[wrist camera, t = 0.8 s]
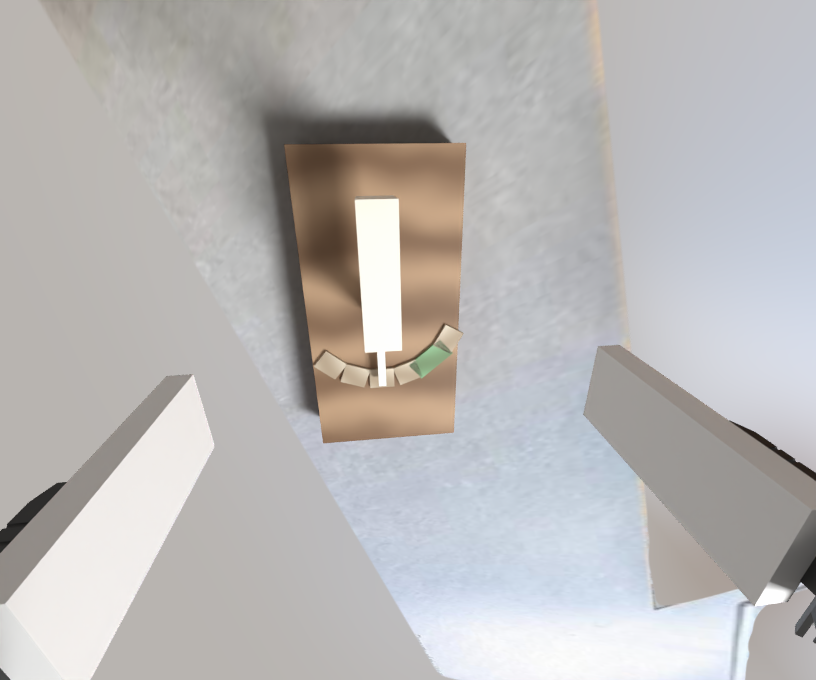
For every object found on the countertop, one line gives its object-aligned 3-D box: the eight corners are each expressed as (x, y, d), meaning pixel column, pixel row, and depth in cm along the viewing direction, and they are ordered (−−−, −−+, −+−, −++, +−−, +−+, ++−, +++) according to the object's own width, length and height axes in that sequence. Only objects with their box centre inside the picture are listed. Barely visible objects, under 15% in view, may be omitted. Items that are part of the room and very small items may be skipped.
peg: (356, 193, 30) (354, 199, 22) (389, 192, 30) (398, 198, 22) (368, 380, 37) (370, 435, 29) (395, 378, 37) (404, 432, 29)
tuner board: (293, 147, 32) (283, 144, 28) (460, 146, 33) (472, 142, 29) (326, 420, 43) (322, 445, 39) (450, 411, 45) (458, 433, 41)
